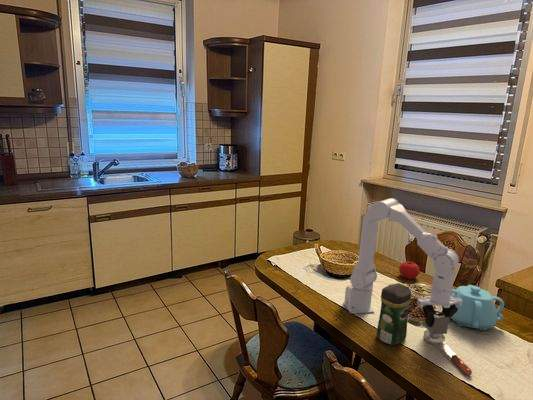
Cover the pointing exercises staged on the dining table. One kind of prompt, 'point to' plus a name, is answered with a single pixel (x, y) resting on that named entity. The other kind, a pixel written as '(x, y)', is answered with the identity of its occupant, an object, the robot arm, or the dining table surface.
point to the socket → (439, 323)
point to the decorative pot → (476, 308)
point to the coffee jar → (394, 314)
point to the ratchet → (446, 350)
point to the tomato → (409, 270)
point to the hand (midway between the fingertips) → (436, 325)
